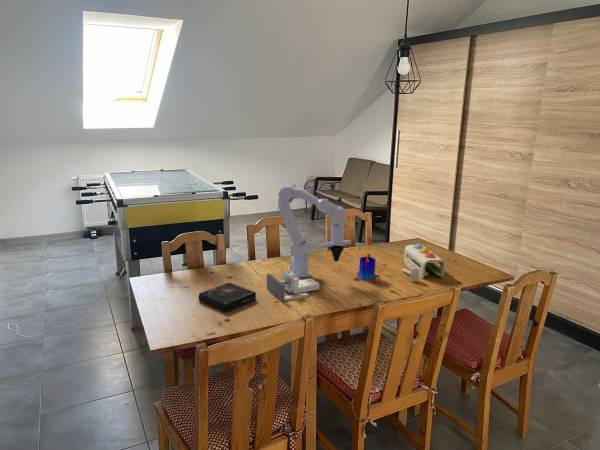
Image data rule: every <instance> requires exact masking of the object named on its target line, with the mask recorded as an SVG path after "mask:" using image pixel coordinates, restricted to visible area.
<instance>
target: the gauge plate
mask: <svg viewBox="0 0 600 450" xmlns="http://www.w3.org/2000/svg"><path fill="white" fill-rule="evenodd" d="M289 274H290V273H289V272H286V271H281V283H282V284H284V285H285V291H287V292H288V293H289V294H290V295H295V294H294V279H295V277H294V276H293V275H292V276H293V277H292V276H291V275H289Z"/></svg>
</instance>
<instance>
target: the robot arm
mask: <svg viewBox="0 0 600 450" xmlns="http://www.w3.org/2000/svg"><path fill="white" fill-rule="evenodd" d="M277 195H278V199H277V200H278V202H277V208H278V210H279V212H280V215H281V217H282V220H283V223H284V225H285V227H286V229H287V230H286V231H287V233H288V235H289V238H290V240H291V242H290V247H291V255H292V256H291V257H290V259H289V260H290V261H289V265H290V266H289V267H290V268H289V270H288V272H287V273H288V274H292V276H293V277H294V278H295V279H296V278H298V279H301V278H307V277H312V274H311V273H310V272H309V255H308V254H309V252H310V250H311V246H310V244H309V243H308V242H307V240H306V238H305V237H303V235H302V234H301V231H300V228H299V226H298V222H297V220H296V218H295V216H294V214H293V210H292V208H291V204H292V202H293V201H294V200H298V199H302V200H303V201H306V202H308V203H310V204H311V205H314V206H315V207H316V209H317V210H318V211H320V213H321V212H322V213H324V214H325V215H327V216H329V217H330V219H331V224H330V225H331V227H330V229H331V230H330V241H326V242H322V243H321V248H323V249H327V248H329V249H330V251H331V253H332V256H333V262H339V260H340V256H341V254H342V252H343V250H344V248H345V247H344V246H347V245H349V246H350V245H352V240H351V239H344V227H345V223H344V222H345V215H346V210H345V208H344V207H343V206H342V205H338V204H336V203H335V204H334V203H332V202H330V201H329V199H328V198H319V197H317V196H315V195H314V194H311V193H310V192H309V191H307V190H306V189H303V188H302V187H300V186H298V185H296V184H294V183H290V184H288V185H286V186H283V187H281V189H280V190H279V192H278V193H277Z"/></svg>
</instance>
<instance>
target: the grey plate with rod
mask: <svg viewBox="0 0 600 450" xmlns="http://www.w3.org/2000/svg"><path fill="white" fill-rule="evenodd" d="M266 289H267V291H269V293H271V294H272V295H273V296H274V297H276V298H277V300H279V301H280V302H286V301H291V300H292V301H293V300H296V299H300V298H307V297H309V293H308V291H307V292H302V293H296V294H295V295H293V294H290V295H286V296H285V293H286V290H285V285H284V284H282V281H280V280H279V279H277V278H276V277H275V276H273V274H271V273H266Z"/></svg>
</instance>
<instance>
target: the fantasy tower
mask: <svg viewBox="0 0 600 450" xmlns="http://www.w3.org/2000/svg"><path fill="white" fill-rule="evenodd" d="M358 266H359V267H358V269H359V270H358V271H357V272H356V275H357V276H356V277H354V278H353V279H352V280H353V281H355V282H359V281H360V282H366V283H371V284H377V283H378V282H377V280H378V279H377V278H380V276H381V275H379V274H377V273H375V272H376V258H374V257H371V254H370V253H367V256H362V257H360V258H359V265H358Z"/></svg>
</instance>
